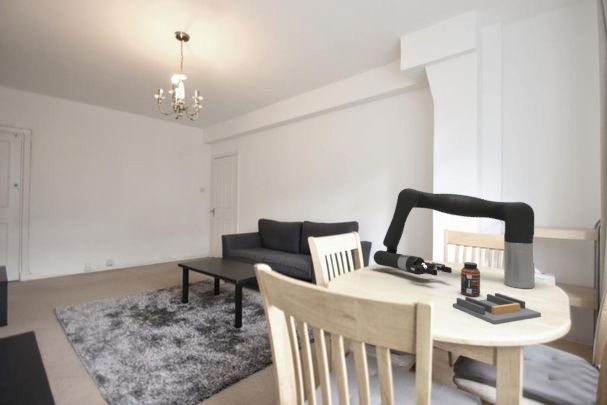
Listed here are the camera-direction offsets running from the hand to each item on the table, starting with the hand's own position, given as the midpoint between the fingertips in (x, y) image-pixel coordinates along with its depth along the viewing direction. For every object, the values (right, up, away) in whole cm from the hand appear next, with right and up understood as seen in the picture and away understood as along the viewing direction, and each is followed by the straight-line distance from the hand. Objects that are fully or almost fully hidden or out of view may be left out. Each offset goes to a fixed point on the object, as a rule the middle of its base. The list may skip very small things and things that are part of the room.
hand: (444, 271), depth 113 cm
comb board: (+3, -6, -26) cm, 27 cm away
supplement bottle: (+5, -6, -9) cm, 12 cm away
